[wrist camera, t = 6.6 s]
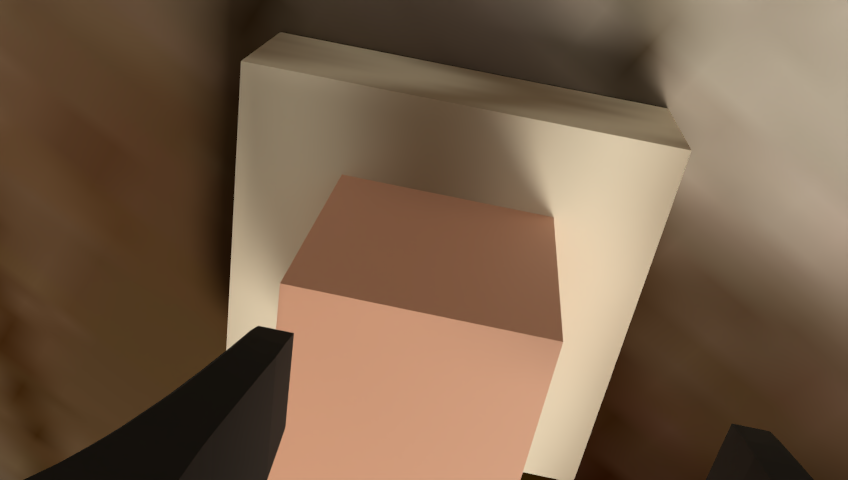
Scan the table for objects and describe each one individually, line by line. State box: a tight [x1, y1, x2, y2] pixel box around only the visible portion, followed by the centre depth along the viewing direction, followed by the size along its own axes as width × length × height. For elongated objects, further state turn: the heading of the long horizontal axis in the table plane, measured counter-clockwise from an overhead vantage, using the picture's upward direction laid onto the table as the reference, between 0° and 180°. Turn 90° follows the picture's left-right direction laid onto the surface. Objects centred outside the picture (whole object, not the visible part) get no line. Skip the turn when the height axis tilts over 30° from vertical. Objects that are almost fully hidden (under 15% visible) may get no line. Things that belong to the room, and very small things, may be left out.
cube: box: [267, 175, 563, 480], centre depth 16 cm, size 5×5×5 cm
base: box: [226, 32, 692, 480], centre depth 20 cm, size 10×10×3 cm
